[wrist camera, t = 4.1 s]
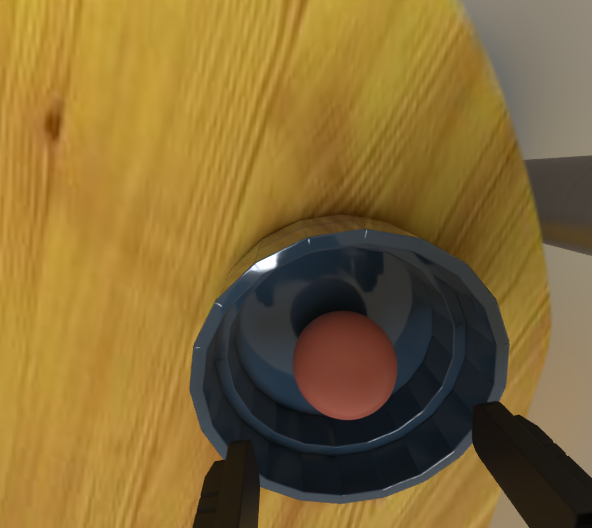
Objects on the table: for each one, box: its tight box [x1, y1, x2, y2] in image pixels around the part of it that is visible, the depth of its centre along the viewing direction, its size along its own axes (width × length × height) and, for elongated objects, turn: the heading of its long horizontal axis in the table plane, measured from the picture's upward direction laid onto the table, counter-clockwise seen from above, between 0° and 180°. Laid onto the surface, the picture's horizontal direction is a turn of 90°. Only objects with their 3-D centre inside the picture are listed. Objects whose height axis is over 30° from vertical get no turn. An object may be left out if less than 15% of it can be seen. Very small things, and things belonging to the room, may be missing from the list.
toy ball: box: [293, 311, 398, 420], centre depth 15 cm, size 5×5×5 cm
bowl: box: [190, 214, 510, 504], centre depth 16 cm, size 14×14×5 cm
